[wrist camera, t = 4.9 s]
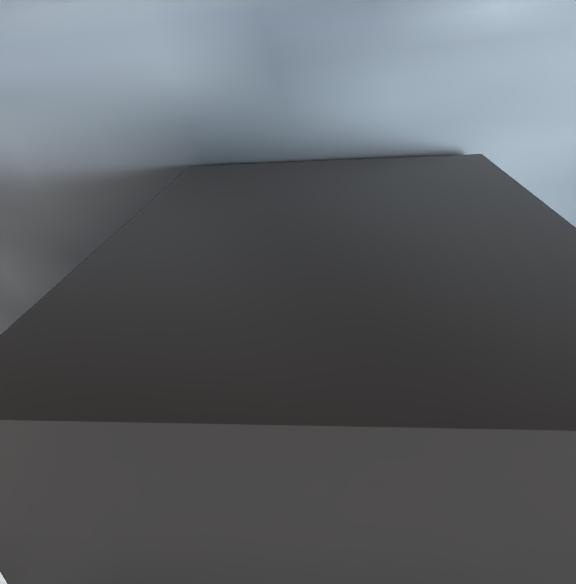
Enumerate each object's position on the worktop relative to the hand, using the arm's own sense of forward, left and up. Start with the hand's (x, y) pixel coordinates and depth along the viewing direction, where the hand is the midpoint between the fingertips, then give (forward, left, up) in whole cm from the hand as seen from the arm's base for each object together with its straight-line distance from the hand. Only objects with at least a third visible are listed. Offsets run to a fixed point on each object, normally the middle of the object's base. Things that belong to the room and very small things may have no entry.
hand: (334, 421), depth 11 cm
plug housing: (0, 0, -1) cm, 1 cm away
